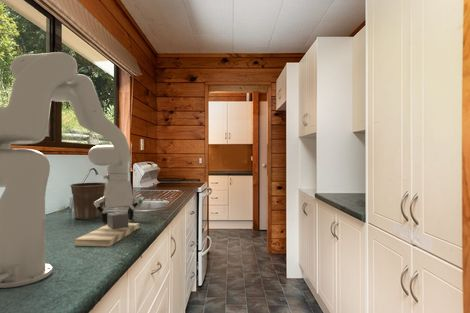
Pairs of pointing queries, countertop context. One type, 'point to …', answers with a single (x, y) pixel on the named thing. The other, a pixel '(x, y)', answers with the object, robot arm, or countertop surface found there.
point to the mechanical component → (136, 206)
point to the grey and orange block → (117, 220)
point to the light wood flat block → (105, 235)
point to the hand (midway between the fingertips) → (117, 221)
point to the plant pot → (87, 199)
